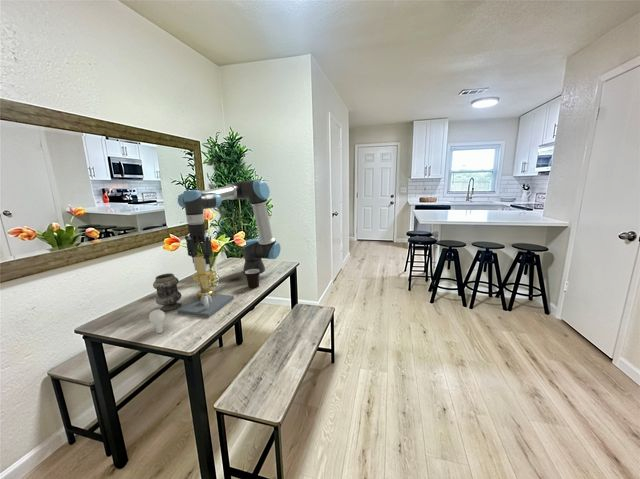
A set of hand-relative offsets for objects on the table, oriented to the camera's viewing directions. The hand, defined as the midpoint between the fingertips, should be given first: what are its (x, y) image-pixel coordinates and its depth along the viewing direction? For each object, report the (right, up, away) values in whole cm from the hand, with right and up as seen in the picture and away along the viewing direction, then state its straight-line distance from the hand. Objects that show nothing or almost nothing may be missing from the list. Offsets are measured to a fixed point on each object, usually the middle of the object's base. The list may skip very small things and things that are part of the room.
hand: (202, 269), depth 135 cm
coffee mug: (+17, -14, +36) cm, 43 cm away
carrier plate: (-2, -20, +12) cm, 24 cm away
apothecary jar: (-22, -21, +11) cm, 33 cm away
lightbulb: (-13, -27, -12) cm, 33 cm away
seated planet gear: (-6, -17, +19) cm, 26 cm away
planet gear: (0, -5, +1) cm, 5 cm away
